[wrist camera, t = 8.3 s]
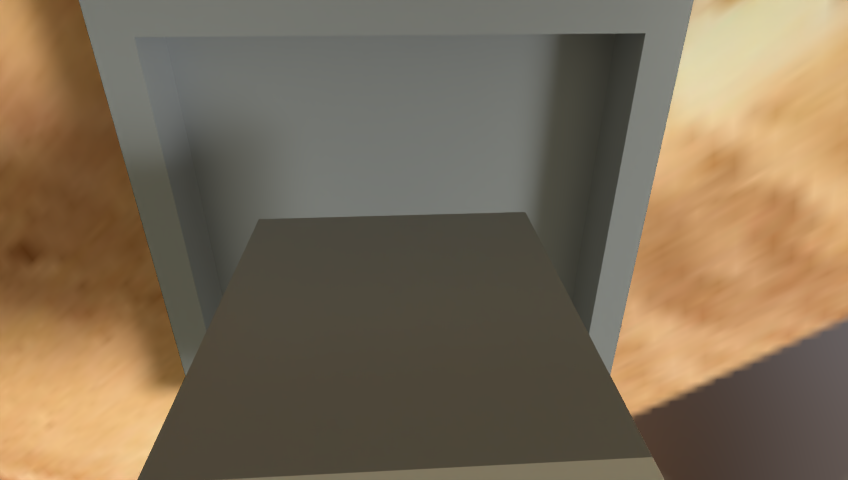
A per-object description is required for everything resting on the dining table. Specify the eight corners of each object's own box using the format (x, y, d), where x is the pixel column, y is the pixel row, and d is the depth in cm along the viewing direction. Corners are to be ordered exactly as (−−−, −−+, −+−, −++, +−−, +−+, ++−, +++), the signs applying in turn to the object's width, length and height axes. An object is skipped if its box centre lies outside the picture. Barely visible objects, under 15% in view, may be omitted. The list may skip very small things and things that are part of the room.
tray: (652, -20, 15) (696, -13, 12) (579, 371, 21) (600, 418, 19) (123, -18, 14) (75, -11, 12) (221, 385, 21) (202, 435, 19)
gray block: (525, 212, 10) (672, 493, 5) (500, 461, 14) (571, 786, 8) (258, 218, 10) (116, 524, 5) (300, 471, 13) (244, 812, 8)
